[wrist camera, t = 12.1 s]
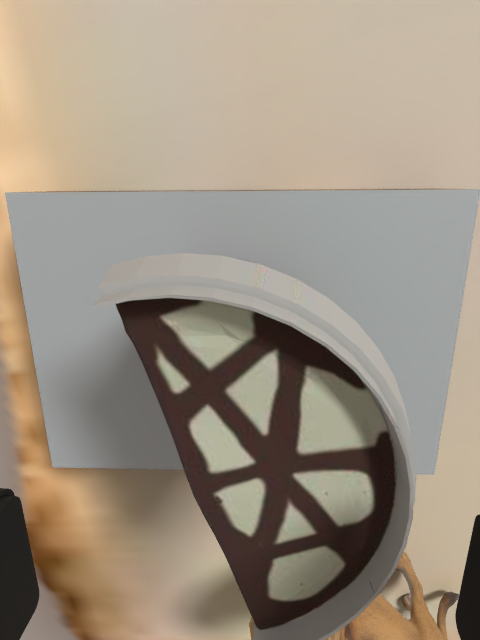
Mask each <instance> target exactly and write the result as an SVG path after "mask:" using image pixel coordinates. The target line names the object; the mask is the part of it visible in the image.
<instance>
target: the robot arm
mask: <svg viewBox="0 0 480 640" xmlns="http://www.w3.org/2000/svg"><path fill="white" fill-rule="evenodd" d="M38 600H39V587H38V582H37V578H36V573H35V568H34V563H33V558H32V553H31V548H30V543H29V539H28V534H27V529H26V524H25V519H24V514H23V509H22V504H21V501H20V498H19V497H16V496H15V495H14V493H13V491H12V490H11V489H2V488H0V640H19V639H20V637H21V635H22V634H23V632H24V630H25V628H26V626H27V624H28V623H29V621H30V619H31V617H32V615H33V613H34V612H35V609H36V607H37V604H38ZM456 625H457V629H458V633H459V635H460V638H461V640H480V515H477V516H476V518H475V522H474V527H473V532H472V536H471V541H470V546H469V551H468V556H467V561H466V565H465V570H464V575H463V580H462V585H461V590H460V595H459V599H458V604H457V609H456Z"/></svg>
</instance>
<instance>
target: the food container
mask: <svg viewBox="0 0 480 640" xmlns="http://www.w3.org/2000/svg"><path fill="white" fill-rule="evenodd" d="M97 288H98V290H99V292H100V294H101V297H100V298H99V299H98V300H97V301H96V302H95V303H94V304H92V305H91V306H92V308H93V309H95V308H99V307H104V306H108V305H113V304H116V307H117V310H118V312H119V314H120V317H121V319H122V322H123V325H124V329H125V332H126V333H127V335H128V336H129V338H130V340H131V341H132V343H133V345H134V347H135V349H136V351H137V353H138V355H139V357H140V359H141V361H142V364H143V366H144V368H145V371H146V373H147V375H148V378H149V380H150V383H151V385H152V387H153V390H154V392H155V394H156V397H157V399H158V402H159V404H160V407H161V409H162V412H163V414H164V417H165V420H166V422H167V425H168V427H169V430H170V432H171V435H172V437H173V440H174V443H175V446H176V449H177V452H178V454H179V457H180V460H181V463H182V466H183V468H184V471H185V474H186V476H187V479H188V481H189V484H190V487H191V490H192V492H193V495H194V497H195V499H196V501H197V503H198V505H199V507H200V509H201V511H202V513H203V515H204V517H205V519H206V521H207V522H208V524H209V526H210V528H211V529H212V531H213V533H214V535H215V537H216V539H217V541H218V543H219V545H220V547H221V548H222V550H223V552H224V554H225V556H226V558H227V561H228V563H229V565H230V567H231V570H232V572H233V574H234V577H235V579H236V581H237V583H238V586H239V588H240V590H241V593H242V595H243V597H244V599H245V602H246V604H247V606H248V609H249V611H250V613H251V615H252V618H253V640H325V639H327V638H328V637H330V636H332V635H334V634H335V633H337V632H338V631H339V630H341V629H342V628H343V627H345V626H346V625H347V624H349V623H350V622H351V621H353V620H354V619H355V618H357V617H358V616H359V615H360V614H361V613H362V612H363V611H364V610H365V609H366V608H367V607H368V606H369V605H370V603H371V602H372V601H373V600H374V599H375V598H376V597H377V596H378V595H379V593H380V592H381V590H382V589H383V588H384V586H385V585H386V583H387V582H388V580H389V579H390V578H391V576H392V575H393V573H394V571H395V569H396V567H397V565H398V562H399V560H400V558H401V556H402V554H403V551H404V549H405V547H406V543H407V539H408V535H409V531H410V527H411V523H412V519H413V506H414V502H415V489H416V463H415V456H414V449H413V441H412V436H411V432H410V427H409V423H408V418H407V414H406V409H405V405H404V402H403V399H402V397H401V394H400V391H399V388H398V385H397V382H396V379H395V377H394V375H393V373H392V371H391V370H390V368H389V366H388V364H387V362H386V361H385V359H384V357H383V355H382V354H381V352H380V350H379V348H378V347H377V346H376V345H375V344H374V342H373V341H372V340H371V339H370V338H369V336H368V335H367V334H366V333H365V332H364V330H363V329H362V328H361V327H360V326H359V324H358V323H357V322H356V321H355V320H354V319H353V318H351V317H350V316H349V315H348V314H347V313H346V312H344V311H343V310H342V309H341V308H340V307H339V306H337V305H336V304H335V303H334V302H333V301H332V300H330V299H329V298H328V297H326V296H324V295H323V294H321V293H319V292H318V291H316V290H314V289H313V288H311V287H309V286H308V285H306V284H304V283H303V282H301V281H299V280H298V279H296V278H293V277H291V276H288V275H286V274H284V273H281V272H279V271H276V270H274V269H271V268H269V267H266V266H264V265H261V264H257V263H254V262H250V261H245V260H241V259H235V258H231V257H227V256H221V255H207V254H193V253H177V254H165V255H154V256H144V257H140V258H136V259H132V260H128V261H124V262H120V263H116V264H113V265H112V266H111V268H110V269H109V271H108V272H107V274H106V275H105V276H104V278H103V279H102V281H101V282H100V284H99V285H98V287H97Z"/></svg>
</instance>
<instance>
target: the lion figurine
mask: <svg viewBox="0 0 480 640" xmlns="http://www.w3.org/2000/svg"><path fill="white" fill-rule="evenodd" d="M396 568H397V569H398V570H400V571H401V572H402V573H403V575H404V577H405V578H406V580H407V582H408V585H409V589H410V593H411V594H409V595H406V596H404V597H403V604H404V606H405V607H406V609H407V610H410V611H411V619H409V620H408V619H406V618H404V617H403V616H402V615H401V614H400V613H399V612H398V611H397V610H396V609H395V608H394V607H393V606H392V605H391V604H390V603H389V602H388V601H387V600H386V599H385V598H384V597H383V596H382V595H380V594H379V595H378V596H377V597H376V598H375V599H374V600H373V601H372V602H371V603H370V605H369V606H368V607H367V608H366V609H365V610H364V611H363V612H362V613H361V614H360V615H359V616H358V617H357V618H355V619H354V620H353V621H351V622H350V623H349V624H347V625H346V626H345V627H343V628H342V629H341V630H339V631H338V632H337V633H335V634H334V635H332V636H330V637H328V638H327V639H325V640H447V633H446V625H445V618H446V613H447V610H448V608H449V607H450V606H452V605H453V604H454V603H455V602H456V600H457V599H458V598H459V594H456V593H453V592H447V593H446V594H445V595H444V596H443V597H442V599H441V601H440V604H439V608H438V614H437V624H436V622H435V621H434V619H433V617H432V616H431V614H430V613H429V611H428V608H427V605H426V603H425V601H424V598H423V590H422V586H421V584H420V582H419V580H418V578H417V576H416V575H415V572H414V570H413V568H412V565H411V562H410V560H409V558H408V556H407V555H406V554H405V553H404V552H403V554H402V556H401V558H400V560H399V562H398V565H397V567H396ZM249 627H250V632H251V640H253V618H251V621H250V623H249Z"/></svg>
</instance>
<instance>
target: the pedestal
mask: <svg viewBox="0 0 480 640" xmlns="http://www.w3.org/2000/svg"><path fill="white" fill-rule="evenodd" d="M5 195H6V201H7V207H8V212H9V218H10V224H11V230H12V236H13V242H14V247H15V253H16V259H17V265H18V271H19V276H20V282H21V288H22V294H23V300H24V306H25V311H26V317H27V323H28V329H29V335H30V340H31V346H32V352H33V358H34V364H35V369H36V375H37V381H38V387H39V393H40V399H41V404H42V410H43V416H44V422H45V428H46V433H47V439H48V445H49V451H50V457H51V463H52V467H56V468H110V469H163V470H184V468H183V466H182V463H181V460H180V457H179V454H178V452H177V449H176V446H175V443H174V440H173V437H172V435H171V432H170V430H169V427H168V425H167V422H166V420H165V417H164V414H163V412H162V409H161V407H160V404H159V402H158V399H157V397H156V394H155V392H154V390H153V387H152V385H151V383H150V380H149V378H148V375H147V373H146V371H145V368H144V366H143V364H142V361H141V359H140V357H139V355H138V353H137V351H136V349H135V347H134V345H133V343H132V341H131V340H130V338H129V336H128V335H127V333H126V332H125V329H124V325H123V322H122V319H121V317H120V314H119V312H118V310H117V307H116V304H113V305H108V306H104V307H99V308H95V309H93V308H92V306H91V305H92V304H94V303H95V302H96V301H97V300H98V299H99V298H100V297H101V294H100V292H99V290H98V288H97V287H98V285H99V284H100V282H101V281H102V279H103V278H104V276H105V275H106V274H107V272H108V271H109V269H110V268H111V266H112V265H113V264H116V263H120V262H124V261H128V260H132V259H136V258H140V257H144V256H154V255H165V254H177V253H193V254H207V255H221V256H227V257H231V258H235V259H241V260H245V261H250V262H254V263H257V264H261V265H264V266H266V267H269V268H271V269H274V270H276V271H279V272H281V273H284V274H286V275H288V276H291V277H293V278H296V279H298V280H299V281H301V282H303V283H304V284H306V285H308V286H309V287H311V288H313V289H314V290H316V291H318V292H319V293H321V294H323V295H324V296H326V297H328V298H329V299H330V300H332V301H333V302H334V303H335V304H336V305H337V306H339V307H340V308H341V309H342V310H343V311H344V312H346V313H347V314H348V315H349V316H350V317H351V318H353V319H354V320H355V321H356V322H357V323H358V324H359V326H360V327H361V328H362V329H363V330H364V332H365V333H366V334H367V335H368V336H369V338H370V339H371V340H372V341H373V342H374V344H375V345H376V346H377V347H378V348H379V350H380V352H381V354H382V355H383V357H384V359H385V361H386V362H387V364H388V366H389V368H390V370H391V371H392V373H393V375H394V377H395V379H396V382H397V385H398V388H399V391H400V394H401V397H402V399H403V402H404V405H405V409H406V414H407V418H408V423H409V427H410V432H411V436H412V441H413V449H414V456H415V463H416V474H430V475H434V472H435V466H436V460H437V454H438V447H439V441H440V435H441V429H442V423H443V417H444V411H445V404H446V398H447V392H448V386H449V380H450V374H451V367H452V361H453V355H454V349H455V343H456V337H457V330H458V324H459V318H460V312H461V306H462V300H463V294H464V287H465V281H466V275H467V269H468V263H469V257H470V250H471V244H472V238H473V232H474V226H475V220H476V213H477V207H478V201H479V195H480V190H479V189H335V190H187V191H47V192H12V193H5Z"/></svg>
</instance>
